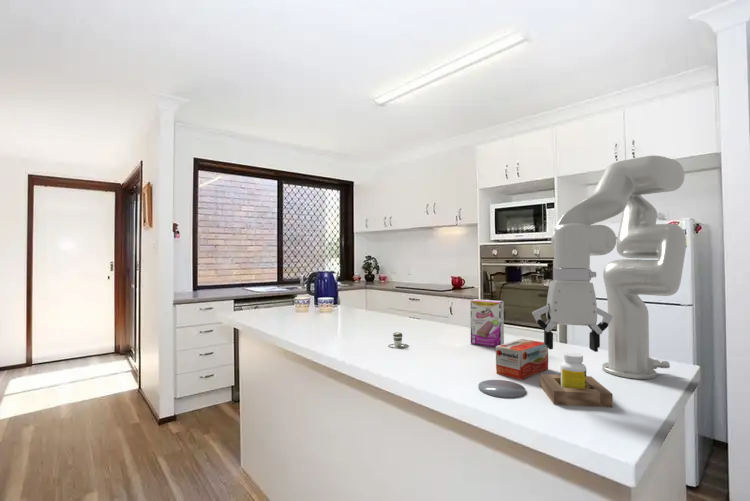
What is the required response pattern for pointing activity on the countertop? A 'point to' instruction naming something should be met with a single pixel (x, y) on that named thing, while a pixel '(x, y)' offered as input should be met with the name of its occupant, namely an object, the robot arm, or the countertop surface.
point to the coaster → (501, 388)
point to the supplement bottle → (573, 371)
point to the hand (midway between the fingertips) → (571, 349)
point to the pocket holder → (576, 392)
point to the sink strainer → (398, 341)
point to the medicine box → (521, 358)
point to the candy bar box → (487, 322)
